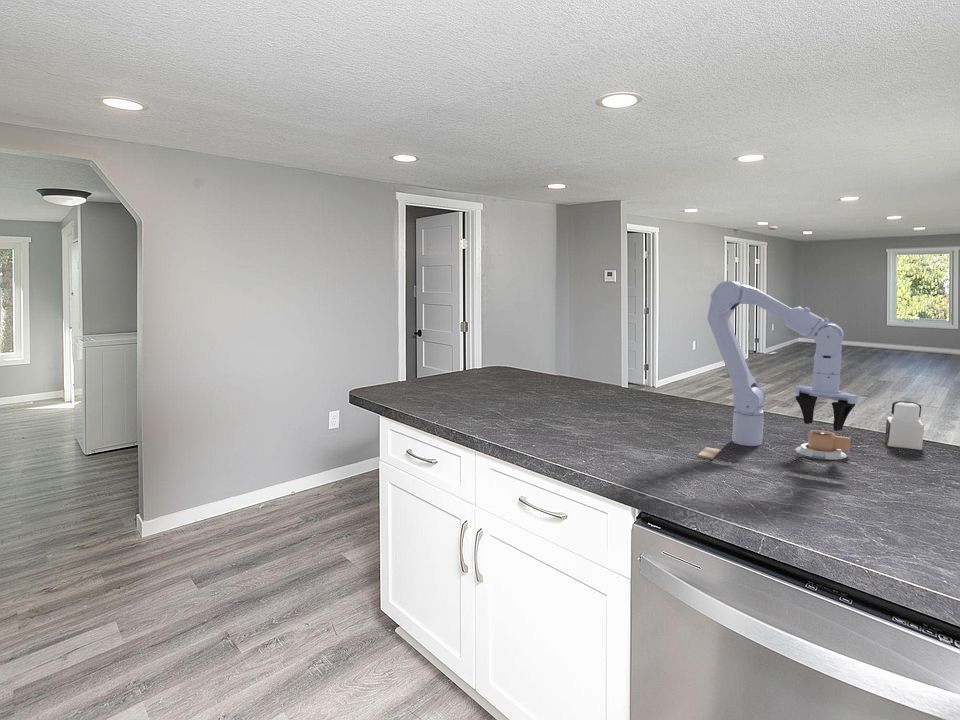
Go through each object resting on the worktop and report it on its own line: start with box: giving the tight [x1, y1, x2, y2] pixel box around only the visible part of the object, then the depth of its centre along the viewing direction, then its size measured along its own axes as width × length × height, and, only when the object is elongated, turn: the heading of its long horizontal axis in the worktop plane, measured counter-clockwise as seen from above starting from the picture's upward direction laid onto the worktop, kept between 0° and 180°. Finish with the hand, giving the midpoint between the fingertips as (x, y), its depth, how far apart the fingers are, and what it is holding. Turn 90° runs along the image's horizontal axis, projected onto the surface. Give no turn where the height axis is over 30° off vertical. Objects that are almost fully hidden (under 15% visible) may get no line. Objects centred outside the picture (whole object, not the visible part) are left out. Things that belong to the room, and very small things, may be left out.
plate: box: [795, 442, 847, 460], centre depth 142 cm, size 11×11×2 cm
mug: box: [807, 429, 852, 452], centre depth 140 cm, size 9×6×5 cm, turn 55°
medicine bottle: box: [884, 400, 925, 451], centre depth 147 cm, size 7×7×12 cm
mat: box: [697, 446, 731, 463], centre depth 143 cm, size 8×8×1 cm
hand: (822, 426), depth 141 cm, fingers open, 7 cm apart
